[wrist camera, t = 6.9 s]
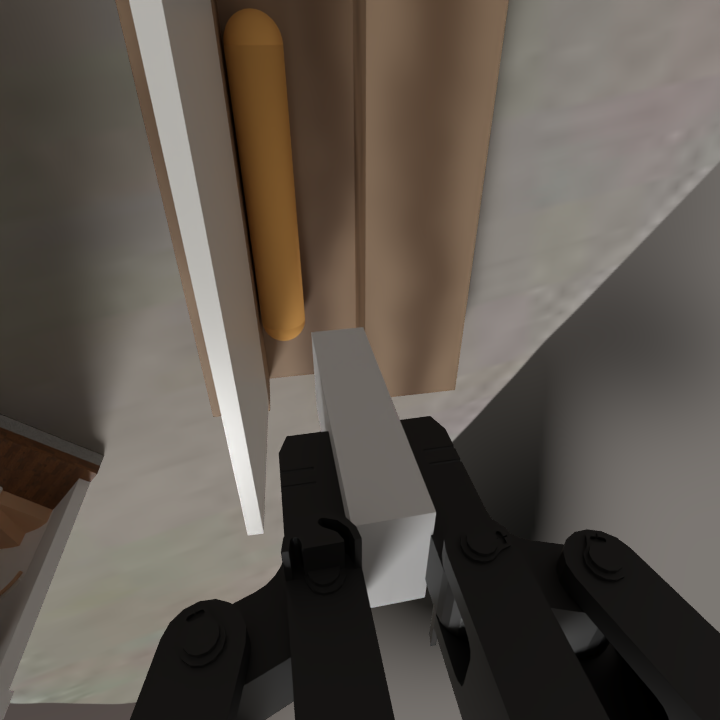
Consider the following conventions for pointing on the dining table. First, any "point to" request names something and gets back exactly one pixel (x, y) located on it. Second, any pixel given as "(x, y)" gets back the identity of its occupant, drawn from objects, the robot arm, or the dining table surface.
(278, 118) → the orange rod
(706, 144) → the dining table surface
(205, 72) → the duct cover
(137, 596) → the dining table surface
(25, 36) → the dining table surface
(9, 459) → the wood-lined white cubby
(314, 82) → the wooden tray
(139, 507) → the dining table surface
